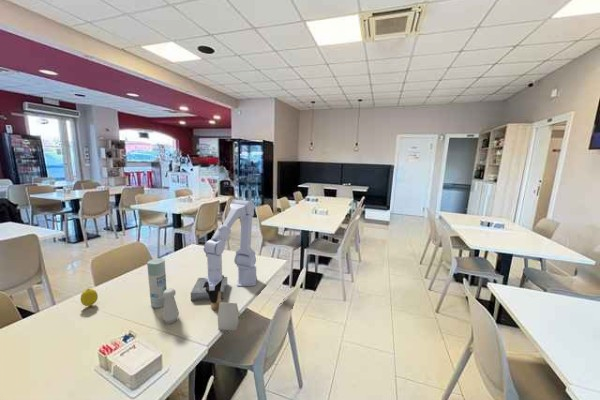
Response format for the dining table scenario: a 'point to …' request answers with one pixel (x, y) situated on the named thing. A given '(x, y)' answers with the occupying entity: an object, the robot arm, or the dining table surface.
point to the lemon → (89, 297)
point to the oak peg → (216, 305)
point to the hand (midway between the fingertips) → (215, 297)
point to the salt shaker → (170, 306)
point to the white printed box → (228, 316)
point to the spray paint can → (157, 281)
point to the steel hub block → (200, 290)
